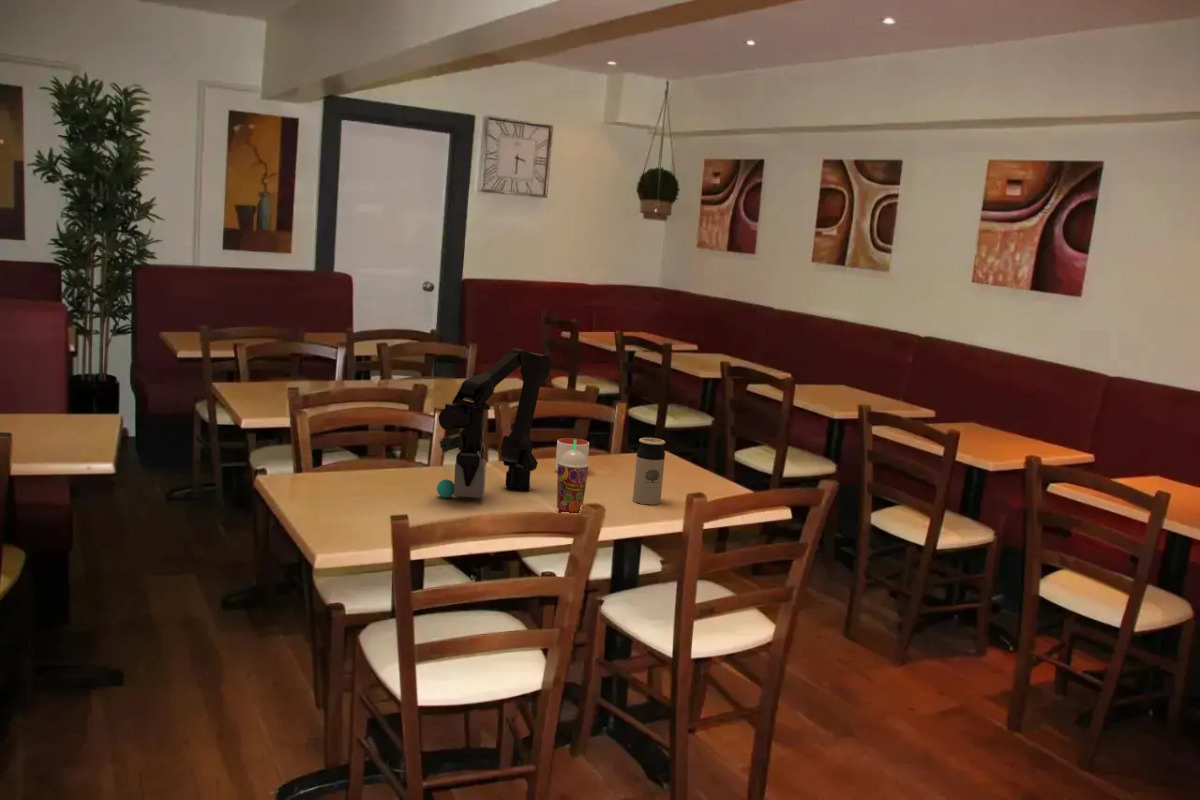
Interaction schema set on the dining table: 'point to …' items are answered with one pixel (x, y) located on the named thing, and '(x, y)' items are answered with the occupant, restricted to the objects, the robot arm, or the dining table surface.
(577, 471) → the smoothie
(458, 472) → the grey matte cube
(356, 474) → the dining table surface
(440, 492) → the ball
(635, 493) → the travel mug
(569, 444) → the cup
